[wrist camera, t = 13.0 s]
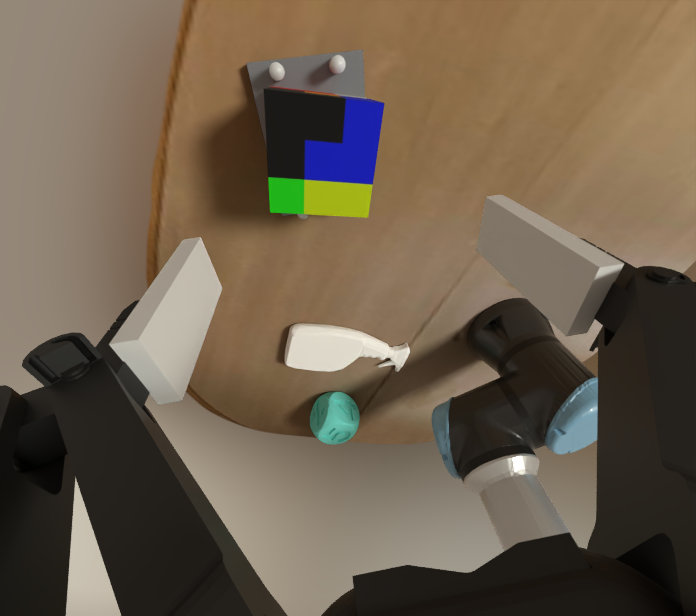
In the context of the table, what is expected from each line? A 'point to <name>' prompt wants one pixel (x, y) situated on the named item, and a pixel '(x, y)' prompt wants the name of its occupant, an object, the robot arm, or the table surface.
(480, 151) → the table surface
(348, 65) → the pin tray
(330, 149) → the puzzle toy
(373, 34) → the table surface
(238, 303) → the table surface
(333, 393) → the decorative dice
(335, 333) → the spray bottle
